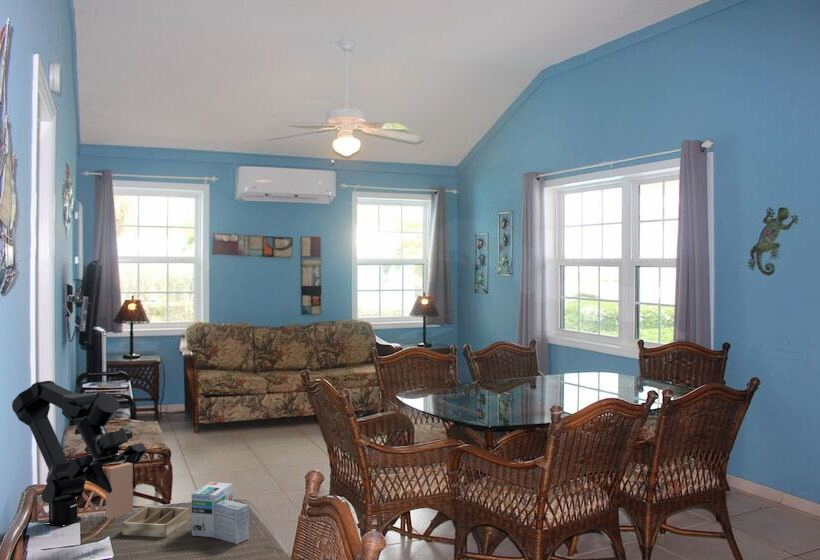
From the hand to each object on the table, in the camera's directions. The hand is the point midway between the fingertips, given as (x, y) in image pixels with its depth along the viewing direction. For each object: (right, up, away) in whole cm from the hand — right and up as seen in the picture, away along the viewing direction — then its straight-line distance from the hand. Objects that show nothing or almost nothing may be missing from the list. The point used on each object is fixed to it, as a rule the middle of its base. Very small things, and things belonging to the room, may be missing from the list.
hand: (122, 488), depth 173 cm
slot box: (+4, -13, +12) cm, 18 cm away
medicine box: (+26, -14, +3) cm, 29 cm away
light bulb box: (+19, -14, +10) cm, 26 cm away
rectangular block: (-1, -7, +1) cm, 7 cm away
